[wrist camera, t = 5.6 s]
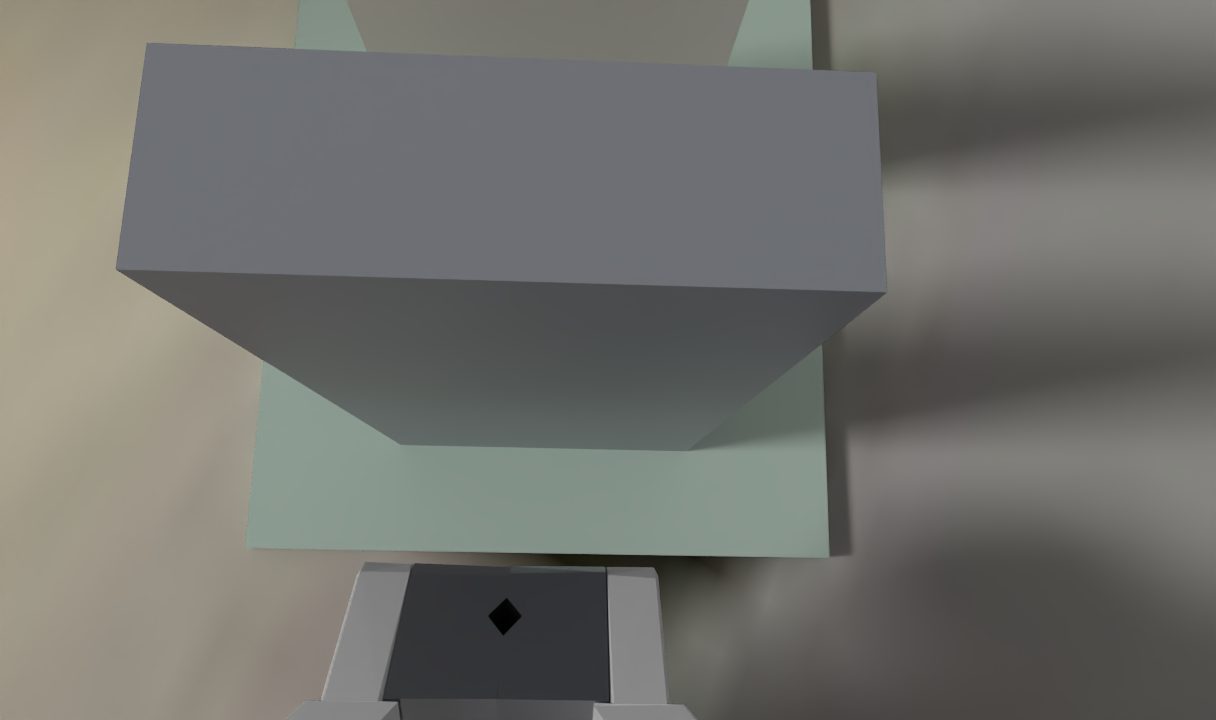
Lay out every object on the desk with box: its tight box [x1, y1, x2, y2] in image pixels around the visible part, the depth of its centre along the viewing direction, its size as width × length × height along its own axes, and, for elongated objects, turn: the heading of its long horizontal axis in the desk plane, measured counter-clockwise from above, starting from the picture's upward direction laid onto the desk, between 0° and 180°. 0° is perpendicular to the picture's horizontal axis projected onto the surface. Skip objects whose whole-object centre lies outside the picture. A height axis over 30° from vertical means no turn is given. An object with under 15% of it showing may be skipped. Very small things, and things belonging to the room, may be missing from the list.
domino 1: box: [116, 43, 887, 451], centre depth 11 cm, size 2×5×10 cm, turn 89°
